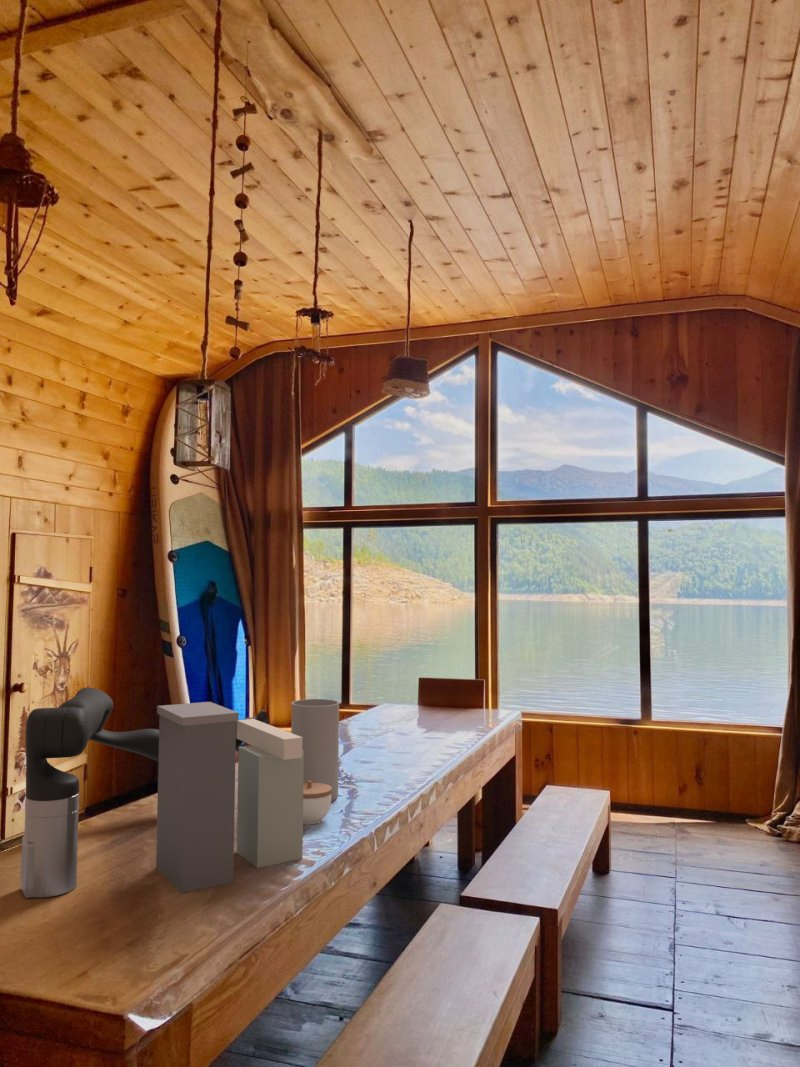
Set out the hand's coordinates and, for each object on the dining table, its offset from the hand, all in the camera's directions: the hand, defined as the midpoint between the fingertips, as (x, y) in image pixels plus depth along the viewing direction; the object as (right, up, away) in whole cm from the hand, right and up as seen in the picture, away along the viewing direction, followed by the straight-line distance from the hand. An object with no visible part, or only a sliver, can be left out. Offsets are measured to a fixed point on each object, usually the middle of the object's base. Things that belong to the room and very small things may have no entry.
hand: (246, 715), depth 183 cm
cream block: (+6, -4, -10) cm, 13 cm away
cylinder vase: (+12, -29, +31) cm, 44 cm away
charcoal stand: (-6, -26, -24) cm, 36 cm away
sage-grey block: (+7, -26, -13) cm, 30 cm away
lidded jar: (+13, -28, +12) cm, 33 cm away
